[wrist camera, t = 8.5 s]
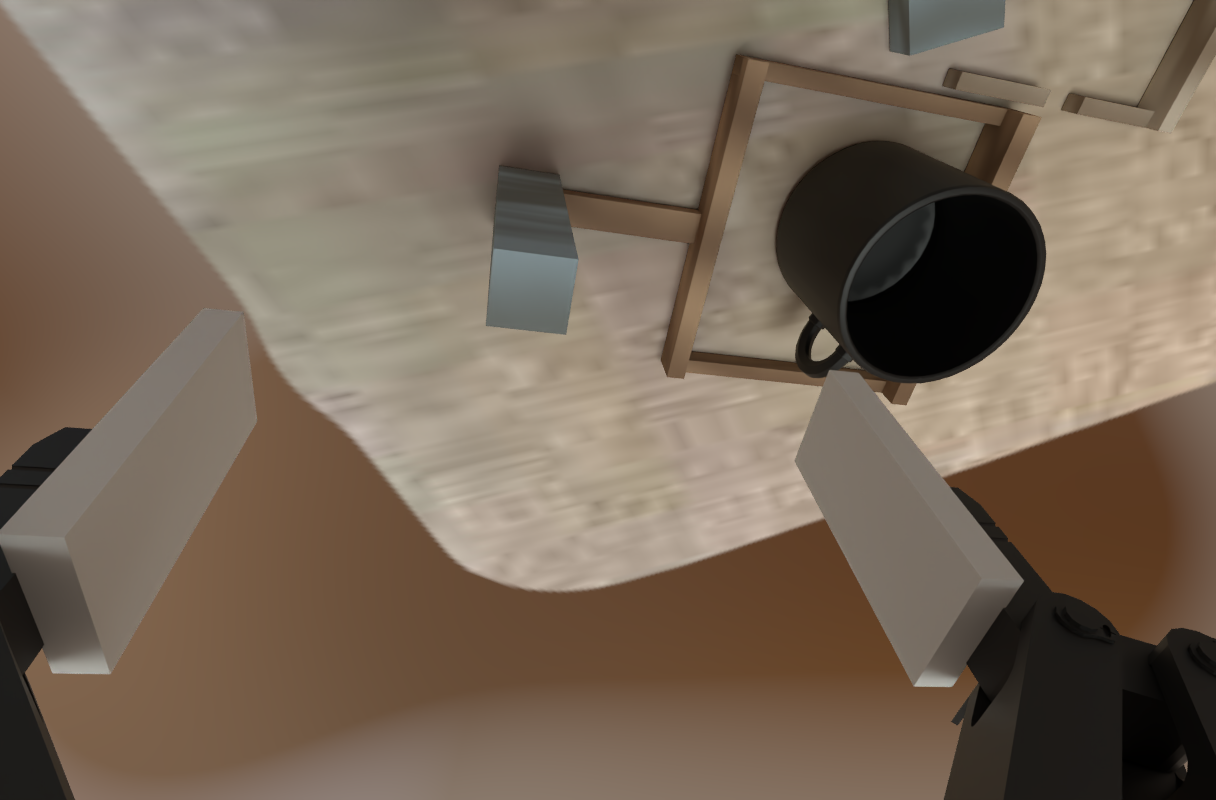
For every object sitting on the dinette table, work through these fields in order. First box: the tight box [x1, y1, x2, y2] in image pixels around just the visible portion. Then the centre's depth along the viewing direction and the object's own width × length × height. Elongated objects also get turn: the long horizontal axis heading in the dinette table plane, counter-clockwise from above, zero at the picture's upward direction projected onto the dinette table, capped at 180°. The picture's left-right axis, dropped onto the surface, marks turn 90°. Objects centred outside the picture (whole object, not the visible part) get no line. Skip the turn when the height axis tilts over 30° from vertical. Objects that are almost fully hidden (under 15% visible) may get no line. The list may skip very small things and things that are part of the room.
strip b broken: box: [888, 0, 1216, 133], centre depth 32 cm, size 9×17×2 cm, turn 80°
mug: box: [777, 141, 1046, 383], centre depth 35 cm, size 9×12×9 cm
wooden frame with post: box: [486, 54, 1042, 405], centre depth 32 cm, size 17×26×12 cm, turn 80°
